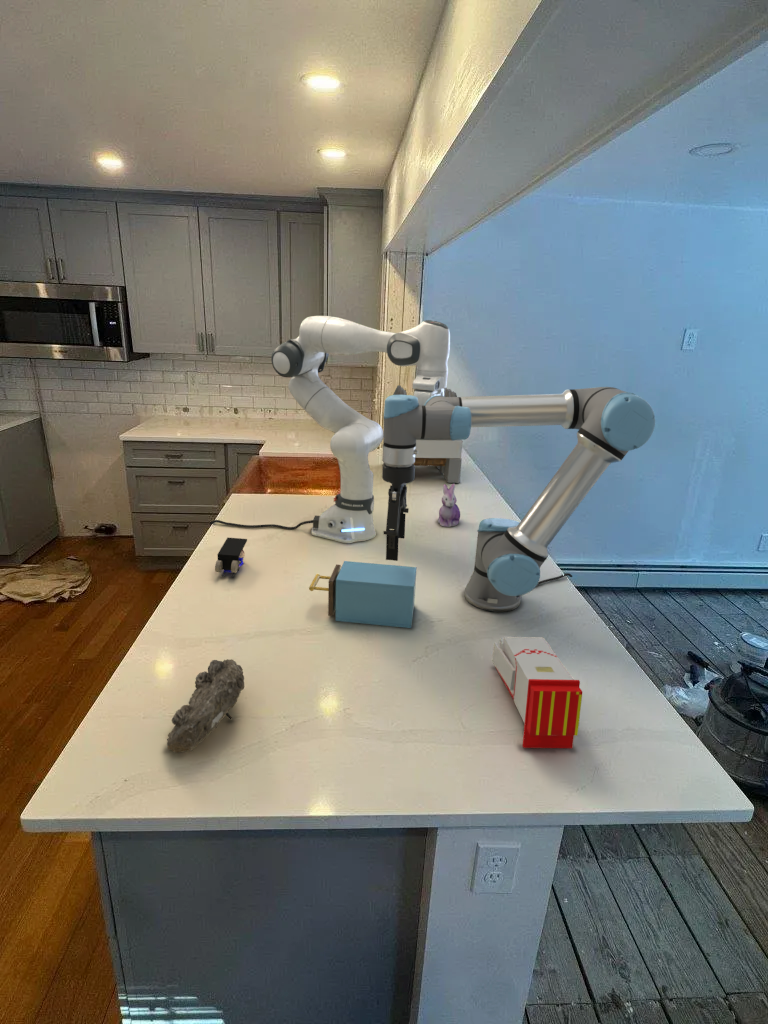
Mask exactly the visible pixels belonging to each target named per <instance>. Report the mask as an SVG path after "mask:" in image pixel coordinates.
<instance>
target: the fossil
mask: <svg viewBox="0 0 768 1024" xmlns="http://www.w3.org/2000/svg"><path fill="white" fill-rule="evenodd" d="M243 670H244V669H243V667H242V665H240V664H237V662H236V661H235V660H234V659H232V658H231V659H227V658H226V659H224V660H223V661H222V660H217V659H212V660H211V661H210V663H209V665H208V666H207V671H201V672H199V673H198V674H197V675H196V676H195V680H194V684H195V685H194V687H195V689H194V690H193V693H192V694H191V697H190V698H189V700H188V704H184V705H182V706H181V707H180V709H177V710H176V711H175V713H174V715H173V716H172V718H171V723H172V724H173V727H172V730H171V731H170V732H168V734H167V738H166V741H167V742H166V745H167V749H168V750H169V751H173V752H174V753H176V754H178V753H182V752H188V751H189V752H192V751H193V750H195V748H196V747H197V746H199V744H200V743H201V742H203V741H204V740H205V739H206V738H207V737H208V736H209V735H210V734H211V733H212V732H214V730H215V729H217V727H218V726H219V724H220V722H221V721H222V720H223V719H224V718H225V716H226V717H227V719H229V720H233V717H232V715H230V714H229V710H230V709H231V708H234V706H235V704H236V703H237V702H238V699H239V697H240V695H241V693H242V691H243V690H245V689H244V688H245V675H244V671H243Z"/></svg>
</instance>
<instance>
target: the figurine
mask: <svg viewBox="0 0 768 1024" xmlns="http://www.w3.org/2000/svg"><path fill="white" fill-rule="evenodd" d="M455 488H456V484H455V483H451V486H450V487H448V486H447V484H443V485H442V489H443V495H442V497H441V503H442V506H441V507H440V508H439V510H438V519H437V523H438V524H439V525H440V526H441V527H446V528H449V527H455V526H457V525H458V524H459V523H460V518H461V511H460V508H459V506H458V504H456V503H457V501H458V500H457V497H456V495H455Z"/></svg>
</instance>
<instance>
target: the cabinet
mask: <svg viewBox="0 0 768 1024" xmlns="http://www.w3.org/2000/svg"><path fill="white" fill-rule="evenodd" d="M417 568H418V567H417V566H409V565H408V566H407V565H396V564H385V563H374V562H373V563H372V562H362V561H361V562H360V561H349V560H343V562H342V564H341V569H340V572H339V574H338V576H337V579H336V609H335V622H343V623H352V624H364V625H373V626H384V627H395V628H405V629H412V624H413V619H414V618H413V617H414V611H415V610H414V609H415V598H416V582H417V571H418V570H417Z"/></svg>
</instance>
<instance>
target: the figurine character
mask: <svg viewBox="0 0 768 1024" xmlns="http://www.w3.org/2000/svg"><path fill="white" fill-rule="evenodd" d="M247 542H248V538H240V537H226V539H225V541H224V543H223V544H222V546H221V547H220V549H219V551H218V552H217V560H216V562H215V564H214V572H215V573H221V577H222V578H224V577H225V576H226V574H227V573H230V574H231V573H232V574H231V578H234V577H235V575H236V573H237V572H239V571H240V567H242V566H243V565H244V564H245V562H244V558H245V551H244V547H245V546H246V544H247Z"/></svg>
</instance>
